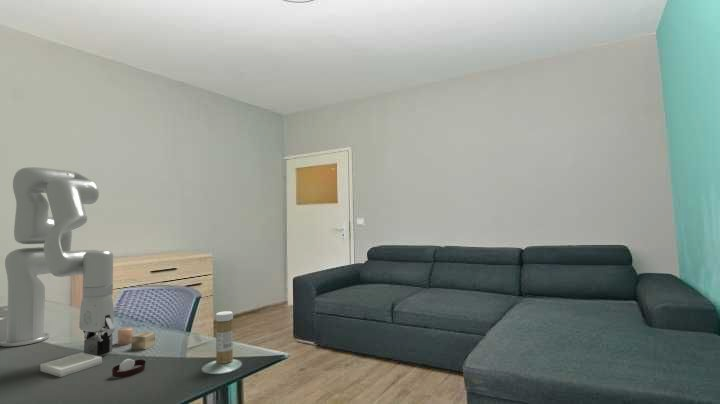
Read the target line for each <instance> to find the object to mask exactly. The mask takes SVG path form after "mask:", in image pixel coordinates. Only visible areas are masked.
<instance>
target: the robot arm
mask: <svg viewBox="0 0 720 404" xmlns="http://www.w3.org/2000/svg"><path fill="white" fill-rule="evenodd" d="M12 190H13V194H14V198H15V203H16V204H15V205H16V208H15V216H14V217H15V218H14V225H13V226H14V229H13V236H14V240H15V242H16V243H19V244H21V245H22V244H23V245H40V244H41V245H43V246H41V247H40V246H37V247H26V248H25V247H24V248H18V249H17V248H16V249H14V250H12V251H11V252H9V253H7V255H6V256H5V259H4V266H5V273H6V276H7V318H6V338H3V339H2V340H0V346H1V347H5V348H6V347H18V346H25V345H30V344H35V343H39V342H42V341H45V340H47V339H49V338H50V332H46V331H45V303H46V302H45V300H46V297H45V295H46V293H45V292H46V288H45V284H44V283H43V281H42V280H41V279H40V278H39V277H38V276H40V275H47V274H52V275H53V276H55V277H57V278H58V277H60V278H64V277H72V276H79V275H80V276H81V275H82V299H81V303H80V309H79V311H80V312H79V323H78V324H79V326H78V327H79V329H80V330H82V332H83V333H84V335H83V337H84V340H85V339H88V338H90V337H93V336H95V335H98V338H99V341H98V342H97V355H103V354H106V353H108V354H110V353H111V352H110V339H111V335H112V336H113V333H114V332H115V330H116V329H115V326H114V321H115V318H114V317H115V316H114V314H115V313H114V301H113V295H114V294H113V293H114V286H113V285H114V254H113V252H112V251H110V250H98V249H85V250H84V249H83V250H71V247H72V236H73V230H77V229H78V228H80V227H82V226H83V225H85V224H86V223H87V221H88V216H87V213H86V210H85V207H84V205H92V204H94V203H96V202H97V201H98V199H99V195H100V194H99V193H100V192H99V188H98V186H97V184H96V183H95V182H94V181H93V180H91V179H89V178H88V177H86V176H84V175H82V174H81V173H78V172H76V171H71V170H65V169H54V168H48V167H47V168H46V167H35V166H34V167H31V166H30V167H29V166H28V167H23V168H20V169H19V170H17V171H16V172H15V174H14V176H13V178H12ZM43 193H44V194H46V196H47V197H45V196H44V195H43ZM49 208H50V211H51V216H49ZM102 335H103V336H102ZM109 352H110V353H109ZM106 355H107V354H106Z"/></svg>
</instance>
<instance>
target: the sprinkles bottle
mask: <svg viewBox="0 0 720 404" xmlns="http://www.w3.org/2000/svg"><path fill="white" fill-rule="evenodd" d="M233 319H234V313H233V311H230V310H225V311H219V312H216V313H215V322H216V325H215V327H216V328H215V329H216V330H215V345H216V346H215V350H216V353H215V354H216V359H215V362H216V363H217V364H225V365H226V364H228V363H231V362H232V361H233V360H234V357H233V353H234V352H233V349H234V348H233V347H234V346H233V345H234V343H233V341H234V340H233V339H234V338H233V337H234V336H233Z"/></svg>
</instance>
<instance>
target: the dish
mask: <svg viewBox="0 0 720 404" xmlns="http://www.w3.org/2000/svg"><path fill="white" fill-rule="evenodd" d="M102 364H103V356H102V357H99V356H95V355H91V354H87V353H84V352H78V353H76V354H71V355H68V356H65V357H62V358H61V357H60V358H58V359H55V360H51V361H47V362H44V363H40V370H39V371H40V372H42V373H44V374H45V373H46V374H49V375H51V376H52V375H53V376H55V377H58V378H62V377H63V378H64V377H65V376H68V375H71V374H74V373H77V372H81V371H84V370H86V369H90V368H94V367H95V366H99V365H102Z"/></svg>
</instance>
